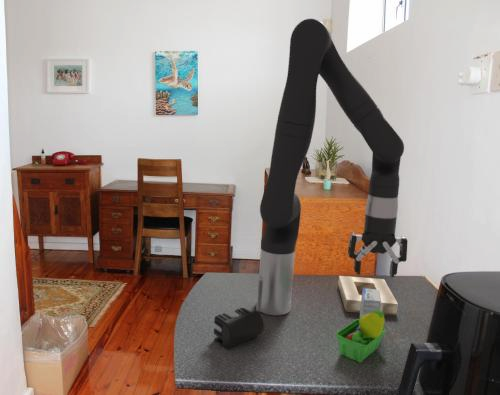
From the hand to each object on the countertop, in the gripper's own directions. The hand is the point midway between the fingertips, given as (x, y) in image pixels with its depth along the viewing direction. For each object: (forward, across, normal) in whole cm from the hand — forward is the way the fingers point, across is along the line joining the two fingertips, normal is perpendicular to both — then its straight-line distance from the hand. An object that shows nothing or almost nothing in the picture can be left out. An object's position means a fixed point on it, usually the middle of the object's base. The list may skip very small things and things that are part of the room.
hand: (374, 274), depth 117 cm
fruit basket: (+14, -4, -14) cm, 20 cm away
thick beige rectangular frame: (+14, +2, +16) cm, 21 cm away
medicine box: (+14, 0, 0) cm, 14 cm away
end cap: (+14, -33, -14) cm, 39 cm away
